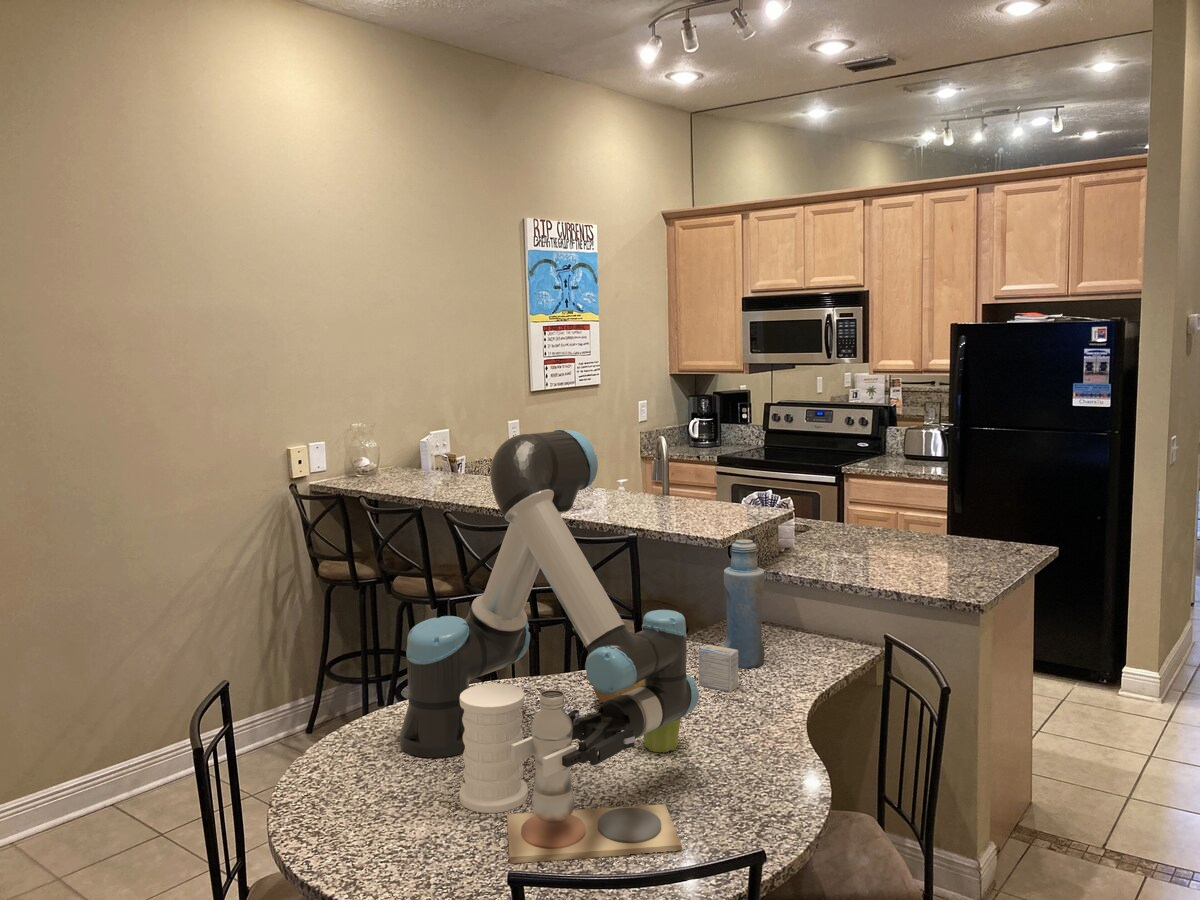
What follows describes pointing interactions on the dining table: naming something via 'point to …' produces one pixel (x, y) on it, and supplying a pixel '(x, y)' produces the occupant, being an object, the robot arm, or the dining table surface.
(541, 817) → the plastic bottle
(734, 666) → the medicine box
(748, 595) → the bottle
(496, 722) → the decorative container
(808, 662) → the dining table surface
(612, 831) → the board
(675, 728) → the plant pot
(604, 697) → the potato
